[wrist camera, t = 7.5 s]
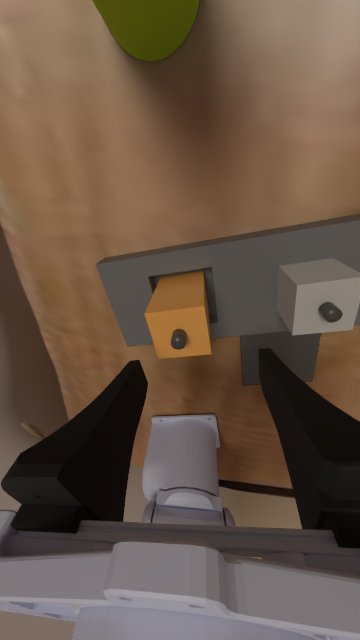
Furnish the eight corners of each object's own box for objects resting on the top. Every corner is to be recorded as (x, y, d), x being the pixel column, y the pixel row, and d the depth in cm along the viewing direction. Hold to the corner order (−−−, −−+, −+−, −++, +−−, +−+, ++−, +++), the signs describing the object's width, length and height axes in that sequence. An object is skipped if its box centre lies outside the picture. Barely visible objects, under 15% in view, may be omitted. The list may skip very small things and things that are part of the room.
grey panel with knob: (132, 335, 25) (110, 382, 19) (104, 258, 20) (64, 287, 14) (466, 300, 20) (583, 349, 14) (530, 184, 15) (745, 183, 9)
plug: (169, 313, 22) (156, 368, 16) (160, 276, 20) (140, 321, 14) (208, 308, 22) (212, 363, 15) (203, 270, 20) (204, 313, 13)
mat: (242, 383, 27) (243, 385, 27) (240, 332, 23) (240, 333, 23) (311, 379, 26) (312, 381, 26) (320, 323, 22) (322, 325, 22)
